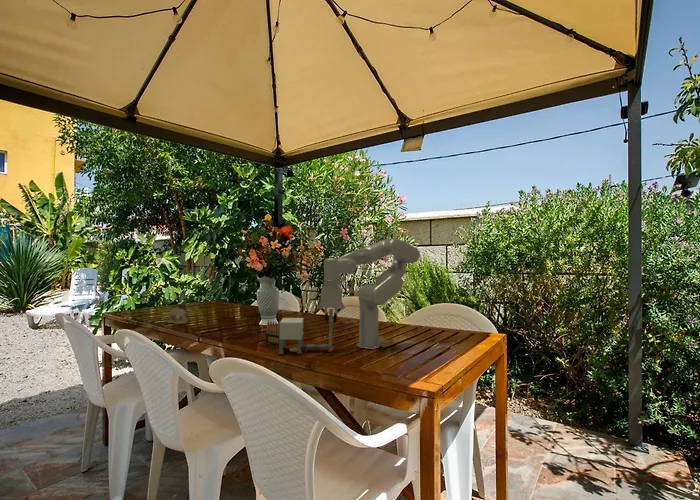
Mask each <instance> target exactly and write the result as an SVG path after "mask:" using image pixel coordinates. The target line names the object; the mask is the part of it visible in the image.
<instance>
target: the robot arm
mask: <svg viewBox="0 0 700 500" xmlns="http://www.w3.org/2000/svg"><path fill="white" fill-rule="evenodd" d="M388 256H393V257H392V258H393V260H392V263H391V265H390V266H389V267H388V268H387V269H386V270H384V271H383V272H382V273H380V274H379V275H378V276H377V277H376V279H375V281H374V284H371V283H367V284H363V285H362V286H361V287H360V288H359V290H358V295H357V297H358V302H359V331H358V333H359V334H358V335H359V338H358V341H359V342H357V343H355V346H356V345H357V346H359V347H364V348H374V347H375V346H376V347H377V346H379V344H381V345H382V344H384V345H387V344H388V339H380V338H379V315H380V314H379V313H380V312H379V306H382V305H385V304H386V303H387V302H388V301H389V300H391V299H392V298H394V297H395V296H396V295H397V294H398V293H400V291H401V290H402V288H403V284H404V282H403V281H404V280H403V277H404V276H405V274H406V273H407V272H406V270H407V264H414V263H417V262H418V261H419V260H420V257H421V253H420V250H419V249H418V248H417V247H415V246H414V245H412V244H409V243H408V242H405V241H403V240H401V239H399V238H394V237H393V238H385V239H382V240H380V241H376V242H375V243H372V244H370V245H368V246H366V247H363V248H360V249H357V250H355V251H352V252H348V253H347V254H345V255H342V256H340V257H339V256H338V257H337V258H336V257H331V258H330V257H329V258H328V257H327V258H324V261H323V286H321V290H320V302H319V304H318V305H317V307H316V308H317V309H318V310H320V311H321V312H323V313H324V321H326V323H329V313H328V312H329V311H328V308H329V309H333V308H334V311H333V323H336V321H337V320H338V313H340V311H342V310H344V309H345V305H344V304H343V300H342V297H343V295H342V288H341V286H340V285H343V281H340V274H351V273H354V272H355V271H356V270H357V267H358V266H360V265H361V266H362V265H368V264H372V263H375V262H377V261H379V260H381V259H384V258H385V257H388Z"/></svg>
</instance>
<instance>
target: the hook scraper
mask: <svg viewBox="0 0 700 500" xmlns="http://www.w3.org/2000/svg"><path fill="white" fill-rule="evenodd" d="M328 312H329V313H328V343H326V344H325V343H322V344H320V343H314V344H313V343H312V344H311V343H308V344H307V343H305V344H304V347H303V349H304V351H307V352H308V350H307V349H328V351H329V350H332V351H333V323H334V309H333V308H329V310H328Z"/></svg>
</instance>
